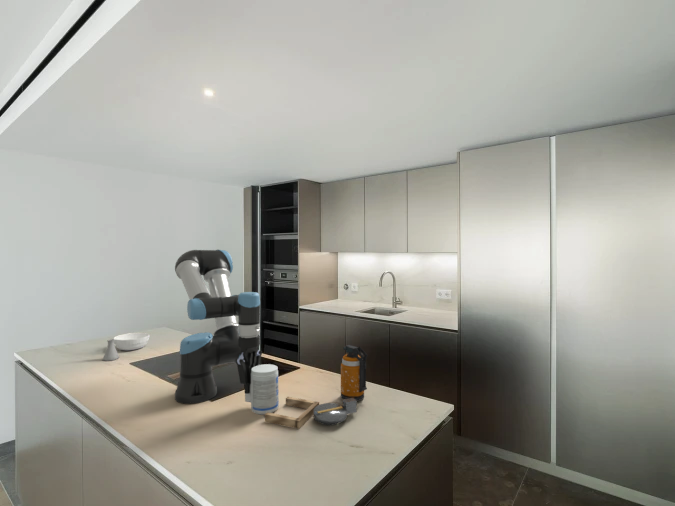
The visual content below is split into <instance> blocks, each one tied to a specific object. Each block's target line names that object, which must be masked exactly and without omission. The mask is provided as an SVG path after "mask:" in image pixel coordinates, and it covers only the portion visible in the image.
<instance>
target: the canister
mask: <svg viewBox="0 0 675 506" xmlns="http://www.w3.org/2000/svg"><path fill="white" fill-rule="evenodd" d="M343 350H344V351H345V352H346V353H345V354H344V355H343V356H342V358H341V361H342V362H341V363H340V398H341V400H344V399H349V398H354V399H355V400H356V402H358V401H362V400H363V399H364V398H365V391H366V390H368V388H367V358H368V354H367V353H366V352H365V351H364V349H362V347H361V346H358V347H357V346H354V345H351V344H348V345H345V346H343Z"/></svg>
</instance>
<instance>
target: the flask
mask: <svg viewBox="0 0 675 506" xmlns="http://www.w3.org/2000/svg"><path fill="white" fill-rule="evenodd" d="M114 341H115V339H113V338H111V339H108V340H107V341H106V342H107V347H106V350H105V352H104V355H103V357H102V361H105V362H107V361H108V362H109V361H115V360H118V359H119V358H120V355H119V352H118V351H117V347H116V344H114Z"/></svg>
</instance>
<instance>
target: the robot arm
mask: <svg viewBox="0 0 675 506" xmlns="http://www.w3.org/2000/svg"><path fill="white" fill-rule="evenodd" d="M233 268H234V265H233V258H232V255H231V253H229V252H228V251H227V250H224V249H192V250H187V251H186V252H184V253H182V254H181V255H180V256H179V257H178V258H177V260H176V262H175V266H174V270H175V274H176V276H177V278H179V279H180V280H181V282H182V284H183V287H184V289H185V291H186V294H187V296H188V299H189V300H188V302H187V305H186V306H187V307H186V308H187V311H186V312H187V316H188V318H189V319H190V320H192V321H197V320H200V321H202V320H208V319H214V320H215V326H216V329H215V331H214V333H213V334H212V333H211V332H209V331H207V332H206V331H205V332H199V333H194V334H191V335H188V336H185V337H184V338H183V339H182V340H181V341H180V342H179V344H180V345H179V379H178V383H177V386H176V389H175V393H174V400H175V401H176V402H177V403H180V404H196V403H198V404H199V403H202V402H206V401H208V400H211V399H212V398H214V397H216V395H217V394H218V387H217V384H216V382H215V378H214V375H213V367H215V366H222V365H226V364H231V363H236V366H237V371H238V377H239V378H238V379H239V383H240V384H241V385H243V386H244V402H246V403H251V369H252V368H253V367H255V366H258V365H261V358H262V354H263V351H262V350H259V347H260V345H261V335H260V333H261V327H260V325H261V324H260V323H261V320H260V319H261V300H260V299H261V298H260V293H258V292H256V291H255V292H254V291H243V292H240V293H239V294H233V295H232V293H231V289H230V288H231V286H230V283H229V278H230V277H231V273H233ZM205 282H207V283H208V286H207V285H206V284H207V283H205ZM237 317H238V318H237Z"/></svg>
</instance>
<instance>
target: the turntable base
mask: <svg viewBox="0 0 675 506" xmlns="http://www.w3.org/2000/svg"><path fill="white" fill-rule="evenodd" d="M321 424H322V425H325V426H336V425H338V424H339V423H337V424H323V423H321Z"/></svg>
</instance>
